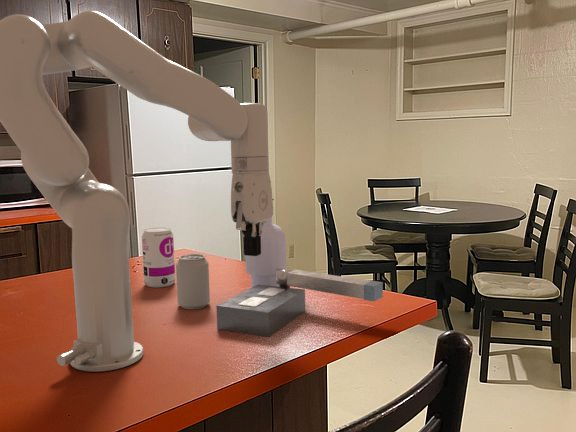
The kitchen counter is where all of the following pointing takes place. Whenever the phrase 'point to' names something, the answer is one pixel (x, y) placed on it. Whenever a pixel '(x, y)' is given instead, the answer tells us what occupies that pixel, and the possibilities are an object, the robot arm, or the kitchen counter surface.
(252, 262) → the soap bottle
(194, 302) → the can
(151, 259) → the supplement can
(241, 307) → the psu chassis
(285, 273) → the bar
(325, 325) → the kitchen counter surface
